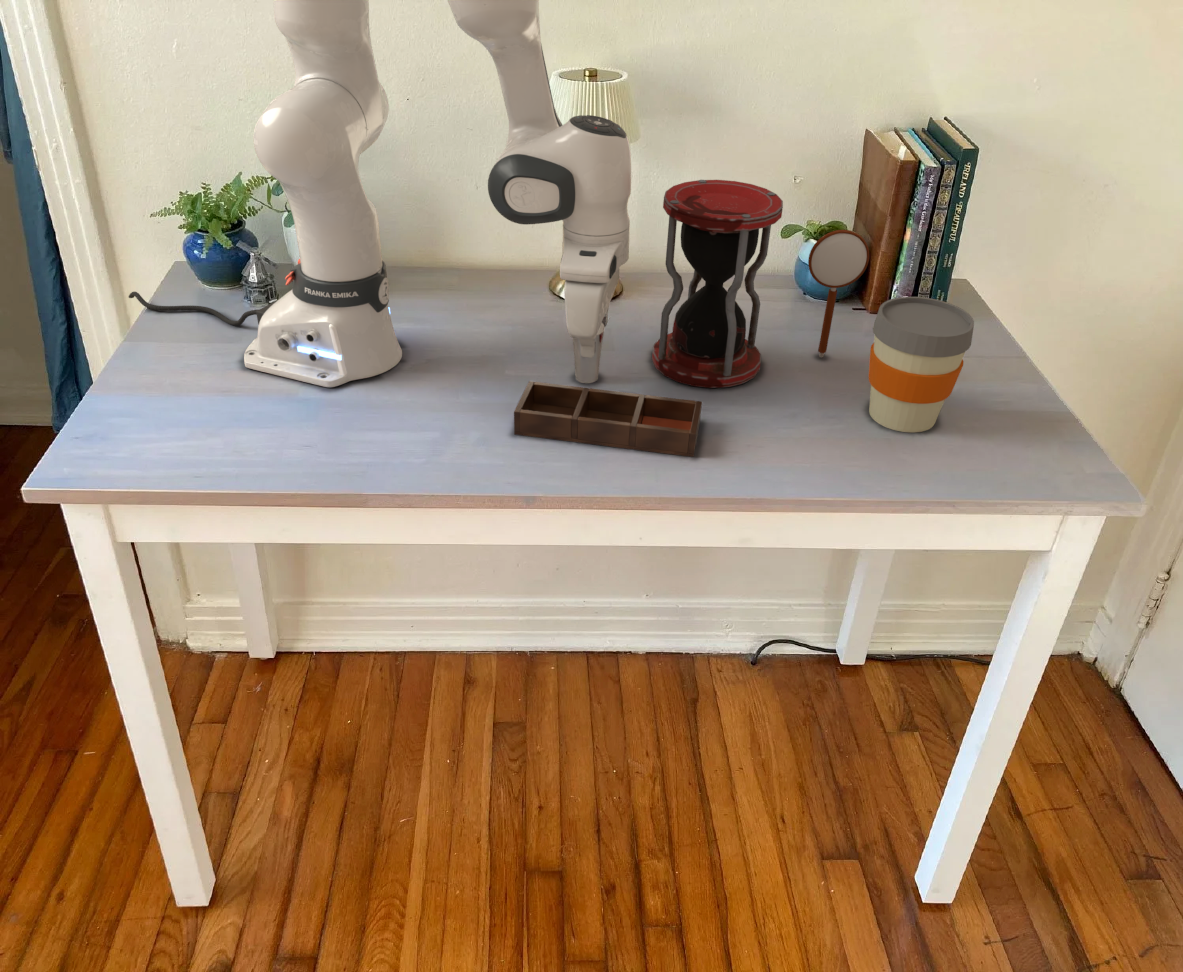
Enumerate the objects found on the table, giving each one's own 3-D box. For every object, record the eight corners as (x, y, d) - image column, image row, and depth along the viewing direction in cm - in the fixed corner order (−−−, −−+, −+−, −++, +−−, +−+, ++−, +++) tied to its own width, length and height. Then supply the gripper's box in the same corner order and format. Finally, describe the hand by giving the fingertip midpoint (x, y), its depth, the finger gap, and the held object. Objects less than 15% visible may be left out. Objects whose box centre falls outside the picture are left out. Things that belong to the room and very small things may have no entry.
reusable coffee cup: (965, 436, 134) (994, 335, 125) (877, 442, 132) (900, 339, 123) (924, 390, 144) (949, 293, 135) (842, 395, 142) (861, 297, 134)
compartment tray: (514, 434, 131) (513, 411, 129) (529, 403, 138) (529, 380, 136) (693, 457, 128) (696, 434, 126) (699, 423, 135) (702, 401, 133)
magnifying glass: (793, 359, 151) (814, 231, 139) (791, 353, 152) (812, 226, 141) (850, 360, 151) (876, 232, 140) (848, 355, 152) (873, 228, 141)
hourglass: (636, 344, 153) (646, 182, 139) (732, 333, 157) (751, 174, 143) (676, 395, 141) (691, 223, 126) (778, 381, 145) (805, 212, 131)
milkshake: (604, 388, 142) (607, 324, 136) (567, 383, 142) (568, 319, 137) (610, 373, 145) (613, 310, 140) (574, 369, 146) (575, 305, 140)
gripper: (587, 216, 141) (586, 307, 149) (556, 272, 125) (557, 371, 133) (631, 220, 140) (628, 310, 148) (606, 276, 124) (604, 375, 132)
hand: (594, 339), depth 140 cm, fingers open, 8 cm apart
